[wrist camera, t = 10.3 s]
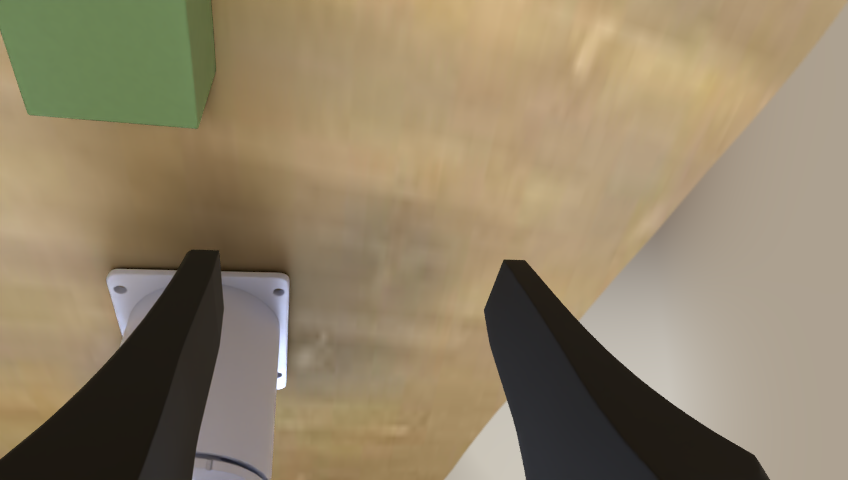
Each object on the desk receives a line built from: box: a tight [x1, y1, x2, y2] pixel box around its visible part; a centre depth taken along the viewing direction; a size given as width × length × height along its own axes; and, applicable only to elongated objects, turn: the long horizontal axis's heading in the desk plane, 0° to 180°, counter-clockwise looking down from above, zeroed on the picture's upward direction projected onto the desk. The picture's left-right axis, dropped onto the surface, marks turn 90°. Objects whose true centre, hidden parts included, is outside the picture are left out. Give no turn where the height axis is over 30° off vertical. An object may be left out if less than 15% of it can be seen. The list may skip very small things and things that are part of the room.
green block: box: [0, 0, 216, 129], centre depth 15 cm, size 4×4×4 cm
